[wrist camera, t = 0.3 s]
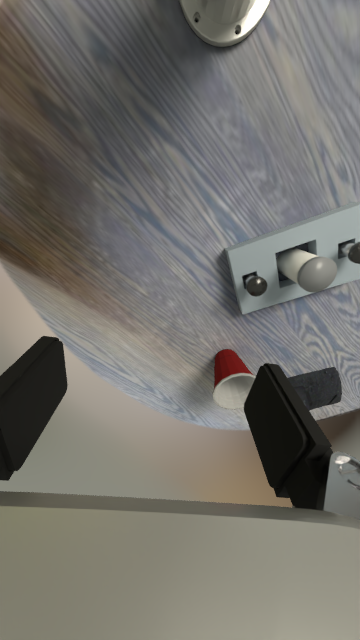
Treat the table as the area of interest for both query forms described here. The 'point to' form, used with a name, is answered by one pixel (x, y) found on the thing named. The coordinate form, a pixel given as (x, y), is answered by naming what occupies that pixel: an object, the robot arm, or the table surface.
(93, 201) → the table surface
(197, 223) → the table surface
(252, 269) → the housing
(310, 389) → the dark slate chunk
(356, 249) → the plunger
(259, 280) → the plunger
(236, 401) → the plastic cup
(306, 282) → the cartridge
